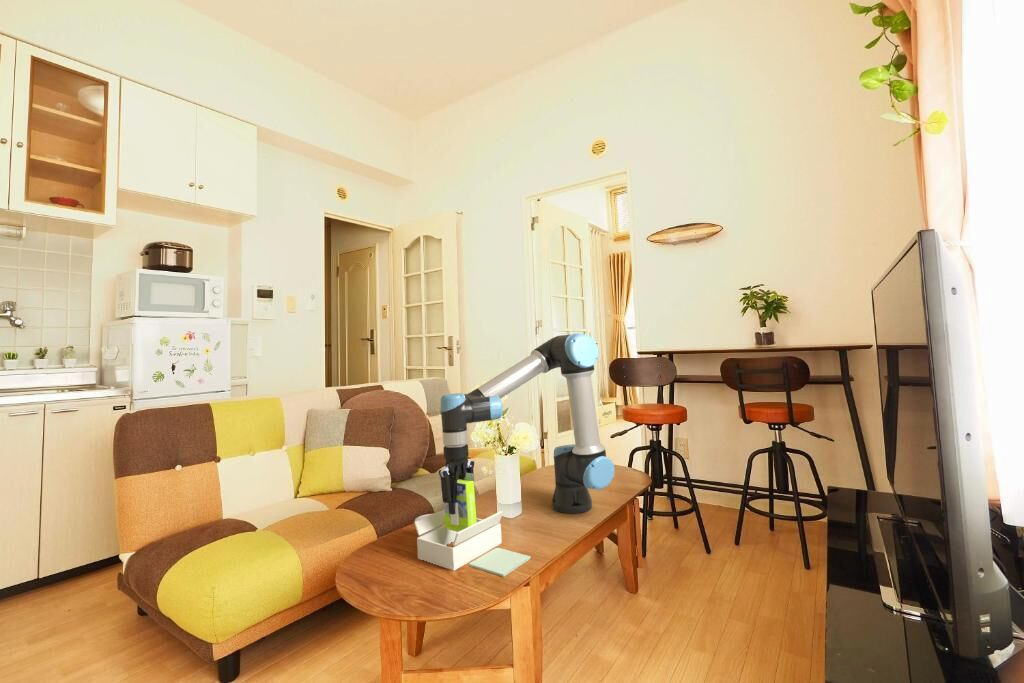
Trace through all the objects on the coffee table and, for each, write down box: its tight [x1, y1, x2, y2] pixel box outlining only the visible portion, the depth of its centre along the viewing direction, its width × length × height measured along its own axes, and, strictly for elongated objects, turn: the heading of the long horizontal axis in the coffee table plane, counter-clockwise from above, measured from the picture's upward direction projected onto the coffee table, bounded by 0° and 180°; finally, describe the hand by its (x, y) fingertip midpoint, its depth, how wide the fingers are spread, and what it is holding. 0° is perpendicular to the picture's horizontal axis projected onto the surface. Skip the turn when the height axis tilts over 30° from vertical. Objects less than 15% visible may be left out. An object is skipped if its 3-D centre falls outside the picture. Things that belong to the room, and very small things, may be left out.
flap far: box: [413, 509, 445, 536], centre depth 145 cm, size 20×1×4 cm, turn 143°
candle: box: [414, 513, 443, 537], centre depth 152 cm, size 9×9×6 cm
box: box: [443, 473, 477, 532], centre depth 141 cm, size 10×4×17 cm, turn 50°
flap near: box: [452, 510, 504, 547], centre depth 136 cm, size 20×1×4 cm, turn 143°
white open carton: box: [416, 517, 503, 572], centre depth 140 cm, size 21×15×6 cm
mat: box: [468, 546, 532, 578], centre depth 131 cm, size 12×12×1 cm
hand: (460, 521), depth 141 cm, fingers closed on box, 4 cm apart
